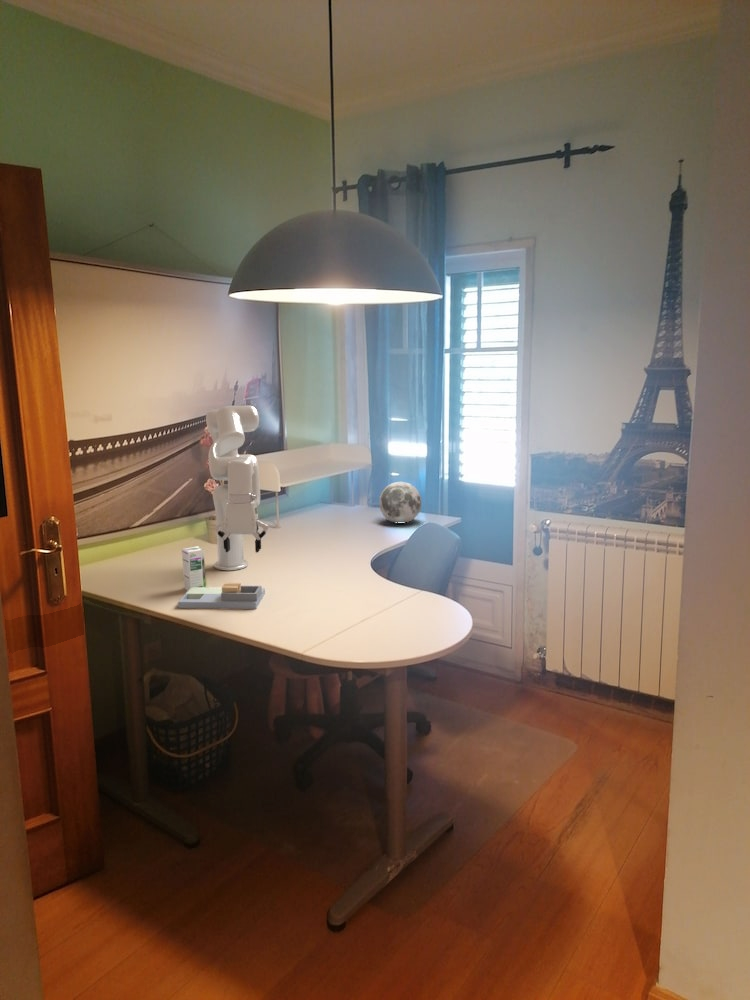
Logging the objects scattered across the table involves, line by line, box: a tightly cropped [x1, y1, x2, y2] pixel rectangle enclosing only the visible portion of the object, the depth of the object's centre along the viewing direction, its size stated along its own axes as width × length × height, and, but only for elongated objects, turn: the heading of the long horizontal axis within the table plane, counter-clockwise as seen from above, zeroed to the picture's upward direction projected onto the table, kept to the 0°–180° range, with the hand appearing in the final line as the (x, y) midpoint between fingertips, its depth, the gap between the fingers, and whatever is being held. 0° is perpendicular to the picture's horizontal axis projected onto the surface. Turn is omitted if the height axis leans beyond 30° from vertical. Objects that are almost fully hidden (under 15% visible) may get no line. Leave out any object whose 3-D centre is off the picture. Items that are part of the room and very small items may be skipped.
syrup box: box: [181, 545, 207, 592], centre depth 251 cm, size 6×6×14 cm
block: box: [221, 582, 242, 593], centre depth 238 cm, size 5×5×4 cm
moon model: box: [378, 481, 422, 524], centre depth 348 cm, size 20×20×20 cm
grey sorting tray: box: [177, 585, 266, 610], centre depth 240 cm, size 15×25×4 cm, turn 88°
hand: (242, 551), depth 234 cm, fingers open, 9 cm apart
